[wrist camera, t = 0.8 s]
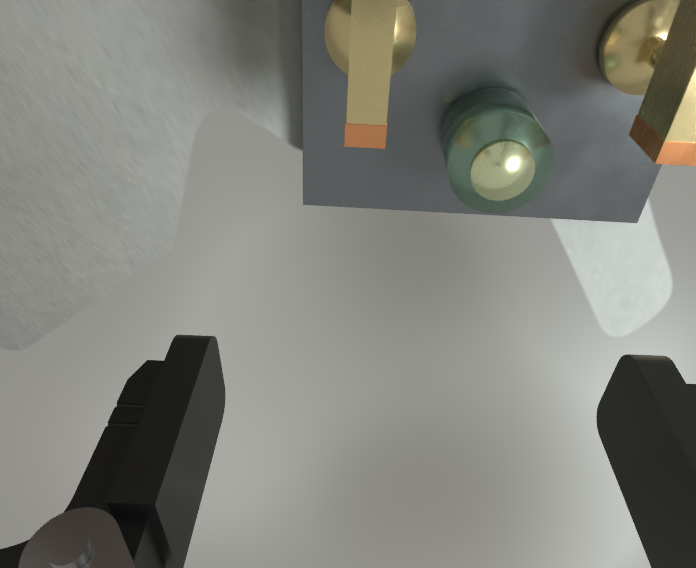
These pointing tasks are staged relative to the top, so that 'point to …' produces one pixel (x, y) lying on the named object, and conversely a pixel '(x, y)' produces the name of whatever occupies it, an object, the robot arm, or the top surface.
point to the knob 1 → (369, 60)
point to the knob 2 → (656, 74)
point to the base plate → (468, 63)
